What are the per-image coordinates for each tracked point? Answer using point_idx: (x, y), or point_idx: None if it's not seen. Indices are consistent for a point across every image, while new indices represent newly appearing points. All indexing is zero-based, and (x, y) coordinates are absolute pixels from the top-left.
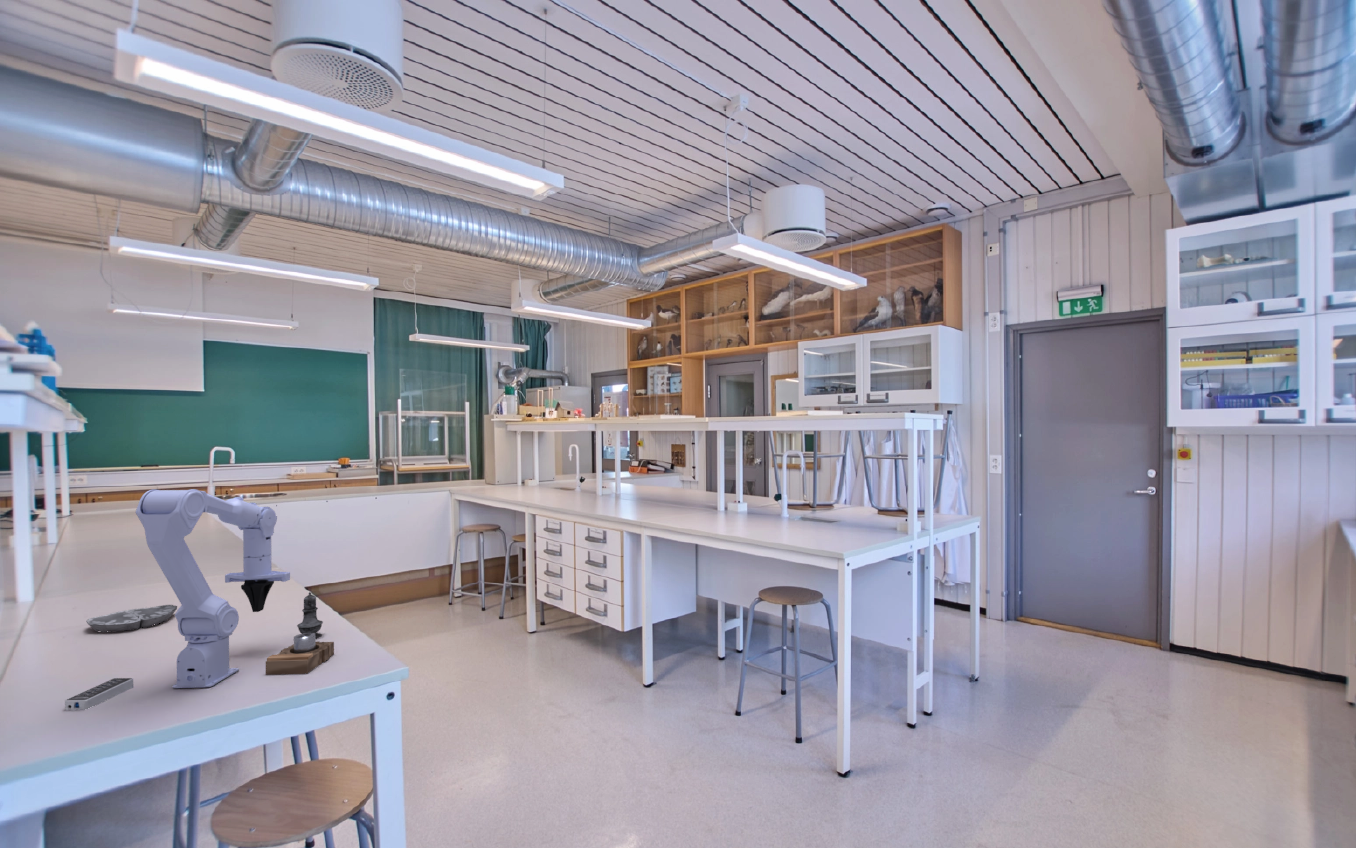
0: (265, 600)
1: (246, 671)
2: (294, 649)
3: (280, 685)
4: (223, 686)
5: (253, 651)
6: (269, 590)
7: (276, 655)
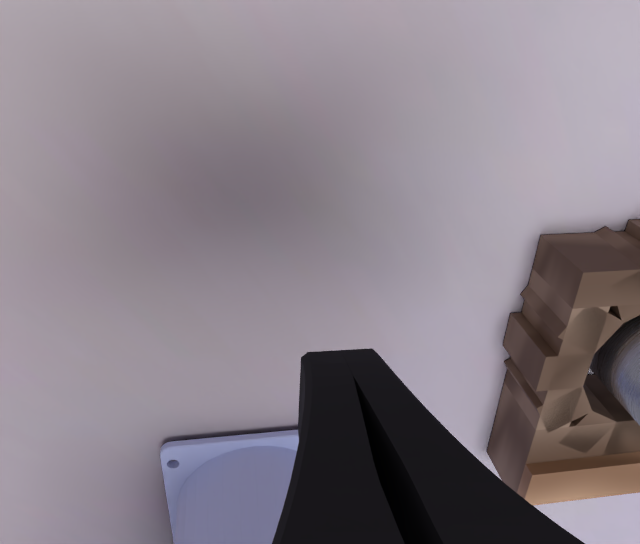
0: (435, 420)
1: None
2: (615, 397)
3: (577, 513)
4: None
5: (221, 152)
6: (574, 538)
7: (557, 483)
